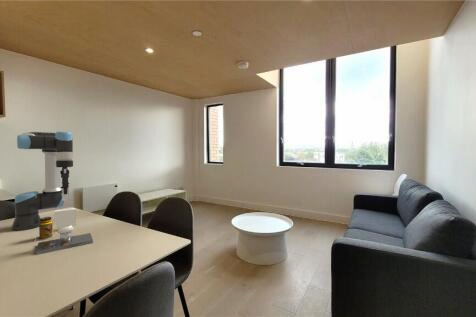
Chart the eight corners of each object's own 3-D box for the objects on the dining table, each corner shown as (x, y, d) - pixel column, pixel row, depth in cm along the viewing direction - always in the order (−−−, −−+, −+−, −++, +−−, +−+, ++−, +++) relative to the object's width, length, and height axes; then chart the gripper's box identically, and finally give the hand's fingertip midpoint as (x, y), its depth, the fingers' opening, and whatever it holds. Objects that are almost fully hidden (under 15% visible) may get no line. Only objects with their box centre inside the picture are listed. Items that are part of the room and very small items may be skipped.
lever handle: (75, 227, 131) (75, 207, 131) (76, 231, 126) (75, 209, 126) (53, 231, 125) (52, 209, 125) (52, 235, 120) (52, 212, 119)
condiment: (52, 238, 134) (52, 218, 134) (33, 241, 129) (33, 220, 129) (54, 234, 140) (53, 215, 140) (36, 237, 136) (35, 217, 135)
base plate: (38, 245, 124) (38, 232, 124) (90, 235, 139) (90, 224, 139) (36, 254, 113) (36, 240, 113) (92, 242, 128) (92, 230, 128)
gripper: (56, 159, 132) (56, 195, 133) (55, 160, 112) (56, 203, 113) (72, 159, 137) (72, 194, 137) (74, 160, 117) (74, 201, 118)
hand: (65, 198), depth 125 cm, fingers open, 13 cm apart
